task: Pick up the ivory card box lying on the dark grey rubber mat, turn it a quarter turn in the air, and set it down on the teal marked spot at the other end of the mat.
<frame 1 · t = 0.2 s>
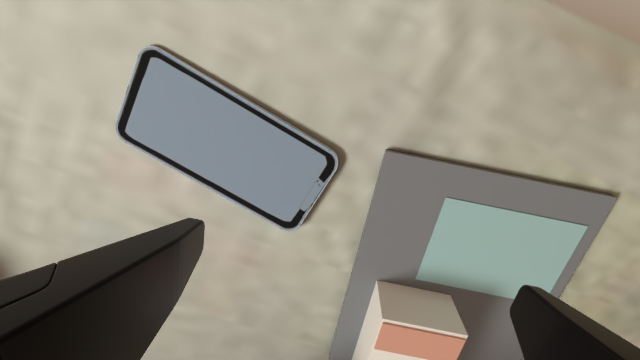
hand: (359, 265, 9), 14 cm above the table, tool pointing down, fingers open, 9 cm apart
card box: (398, 329, 27), resting on mat
mat: (450, 285, 26), on the table
smartphone: (230, 142, 24), on the table
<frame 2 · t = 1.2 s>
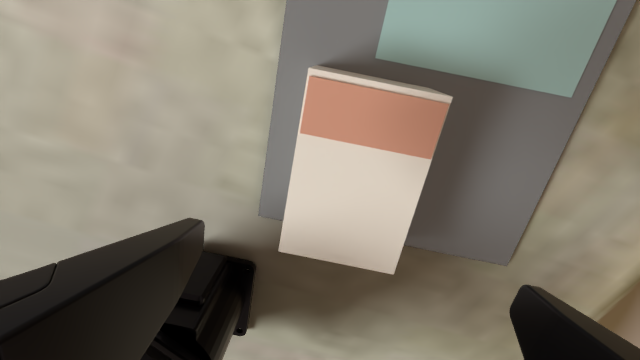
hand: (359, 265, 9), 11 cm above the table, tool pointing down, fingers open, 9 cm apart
card box: (353, 157, 18), resting on mat
mat: (429, 77, 17), on the table
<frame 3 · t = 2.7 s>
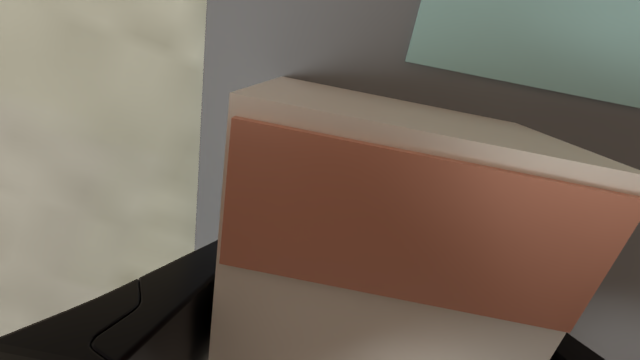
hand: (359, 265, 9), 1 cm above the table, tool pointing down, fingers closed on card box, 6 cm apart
card box: (358, 249, 10), resting on mat, touching gripper
mat: (513, 100, 8), on the table
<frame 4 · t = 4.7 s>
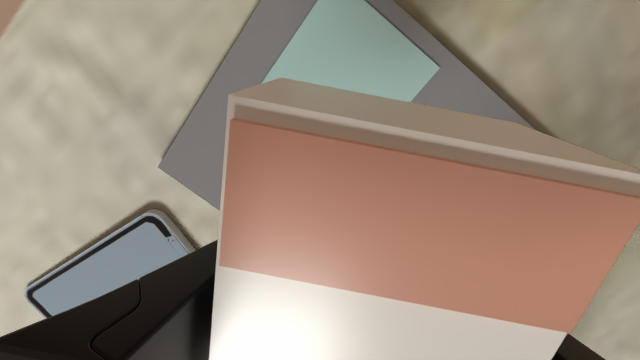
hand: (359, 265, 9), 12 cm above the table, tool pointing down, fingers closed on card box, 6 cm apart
card box: (359, 249, 10), point 11 cm above the table, touching gripper
mat: (359, 166, 20), on the table
smartphone: (123, 281, 25), on the table
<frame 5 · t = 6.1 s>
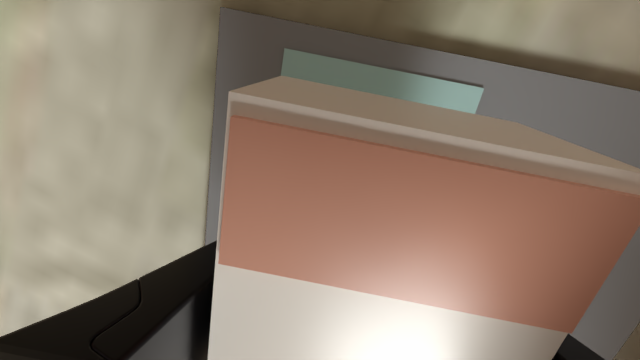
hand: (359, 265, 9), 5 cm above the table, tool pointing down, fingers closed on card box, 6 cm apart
card box: (358, 249, 10), point 4 cm above the table, touching gripper
mat: (429, 248, 15), on the table
when the fingers open (3 cm above the table, at t = 7.0 s): card box drops 1 cm, resting on mat.
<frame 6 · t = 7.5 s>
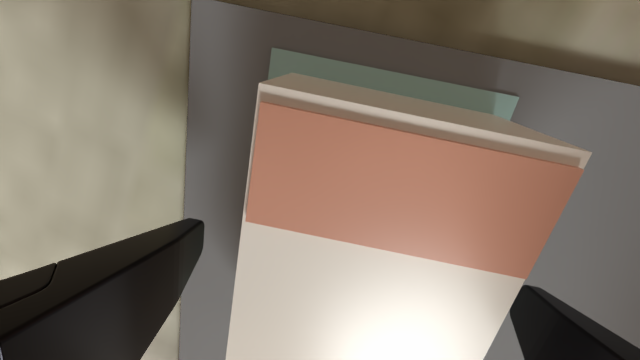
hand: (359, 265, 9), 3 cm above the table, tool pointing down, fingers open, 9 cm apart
card box: (357, 226, 11), point 1 cm above the table, touching mat
mat: (445, 284, 12), on the table
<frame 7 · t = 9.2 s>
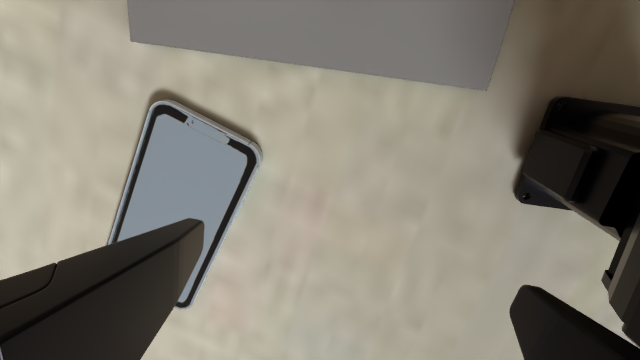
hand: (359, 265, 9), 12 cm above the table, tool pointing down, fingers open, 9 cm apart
smartphone: (180, 212, 23), on the table
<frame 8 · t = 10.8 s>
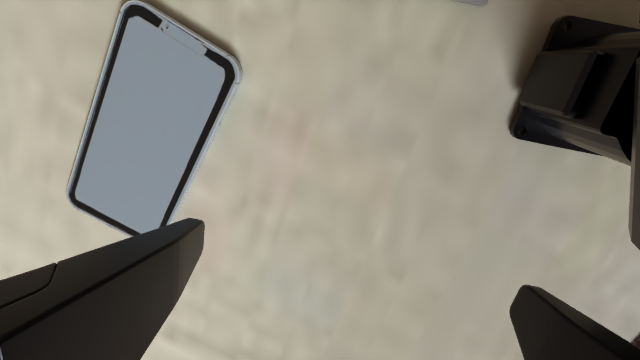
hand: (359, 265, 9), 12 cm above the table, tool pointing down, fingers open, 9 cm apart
smartphone: (152, 137, 21), on the table
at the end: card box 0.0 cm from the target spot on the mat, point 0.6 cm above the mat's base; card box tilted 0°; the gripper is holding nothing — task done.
